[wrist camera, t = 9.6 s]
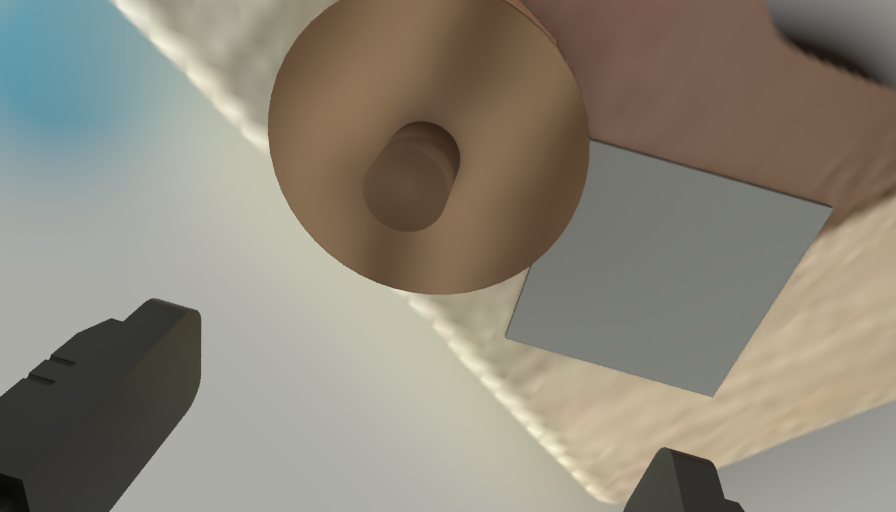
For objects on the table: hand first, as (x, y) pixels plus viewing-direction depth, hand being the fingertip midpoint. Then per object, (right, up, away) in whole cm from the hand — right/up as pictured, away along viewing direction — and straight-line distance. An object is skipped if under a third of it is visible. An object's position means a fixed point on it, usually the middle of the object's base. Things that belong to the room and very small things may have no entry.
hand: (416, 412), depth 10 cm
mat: (+14, +1, +27) cm, 31 cm away
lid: (0, +7, +16) cm, 18 cm away
